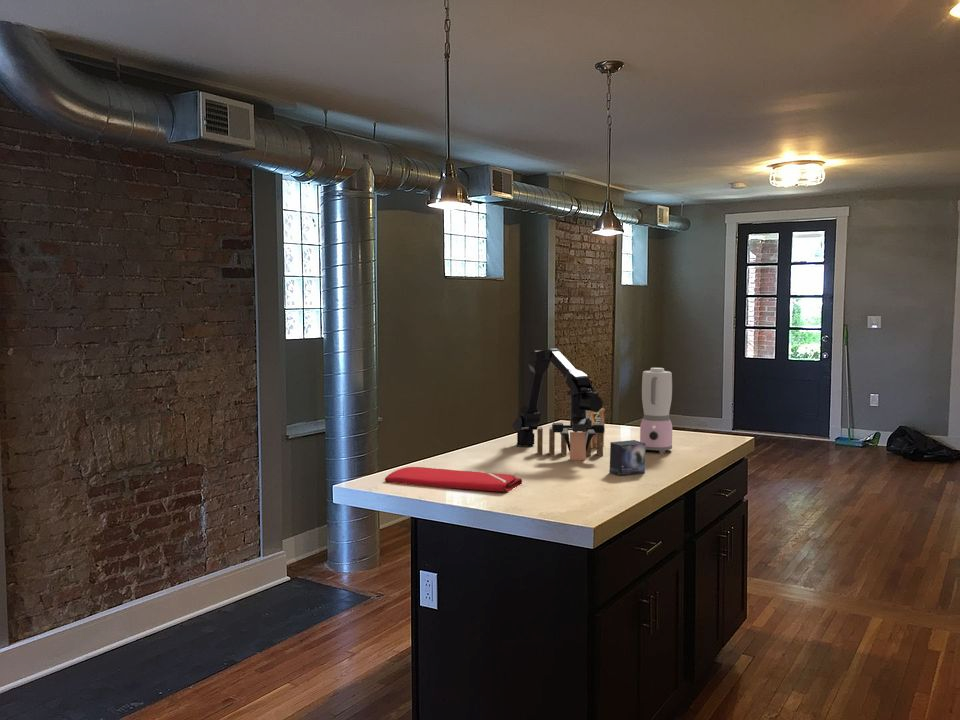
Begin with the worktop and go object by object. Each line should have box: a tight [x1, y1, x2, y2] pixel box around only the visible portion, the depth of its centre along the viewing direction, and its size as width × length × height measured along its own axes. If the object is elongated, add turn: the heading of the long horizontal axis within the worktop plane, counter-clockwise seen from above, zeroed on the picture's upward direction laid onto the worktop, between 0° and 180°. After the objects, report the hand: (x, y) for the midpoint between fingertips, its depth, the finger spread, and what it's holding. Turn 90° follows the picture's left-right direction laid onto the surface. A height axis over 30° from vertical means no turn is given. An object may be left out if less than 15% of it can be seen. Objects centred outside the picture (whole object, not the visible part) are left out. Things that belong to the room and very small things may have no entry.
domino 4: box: [569, 431, 587, 461], centre depth 287 cm, size 2×6×10 cm, turn 87°
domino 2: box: [548, 426, 556, 456], centre depth 298 cm, size 2×6×10 cm, turn 177°
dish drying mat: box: [384, 466, 523, 493], centre depth 249 cm, size 16×41×4 cm, turn 67°
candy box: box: [586, 407, 606, 449], centre depth 312 cm, size 9×4×15 cm, turn 129°
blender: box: [639, 367, 673, 454], centre depth 303 cm, size 16×12×32 cm
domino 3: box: [560, 434, 568, 456], centre depth 297 cm, size 2×6×10 cm, turn 177°
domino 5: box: [586, 430, 592, 457], centre depth 297 cm, size 2×6×10 cm, turn 177°
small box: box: [608, 439, 646, 477], centre depth 264 cm, size 11×6×10 cm, turn 117°
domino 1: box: [536, 426, 544, 456], centre depth 298 cm, size 2×6×10 cm, turn 177°
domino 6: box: [596, 433, 604, 457], centre depth 297 cm, size 2×6×10 cm, turn 177°
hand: (577, 451), depth 287 cm, fingers closed on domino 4, 6 cm apart
